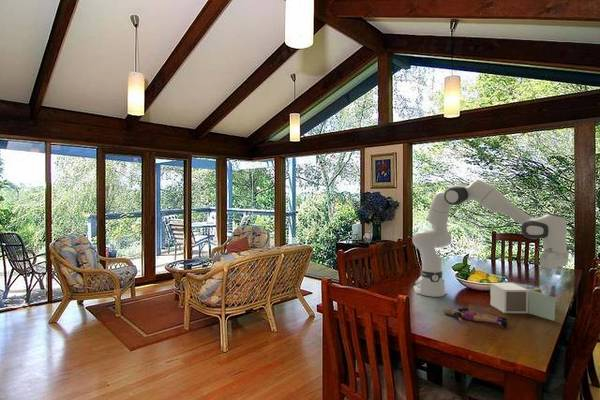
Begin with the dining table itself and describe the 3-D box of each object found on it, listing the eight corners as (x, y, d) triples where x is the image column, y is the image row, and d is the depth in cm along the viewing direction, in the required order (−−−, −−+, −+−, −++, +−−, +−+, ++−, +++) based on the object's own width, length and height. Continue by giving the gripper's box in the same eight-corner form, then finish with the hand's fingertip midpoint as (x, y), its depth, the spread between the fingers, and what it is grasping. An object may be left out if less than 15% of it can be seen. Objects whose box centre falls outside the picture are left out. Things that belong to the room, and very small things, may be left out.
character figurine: (509, 322, 168) (448, 308, 186) (509, 313, 168) (448, 300, 185) (502, 336, 152) (436, 319, 169) (503, 326, 152) (437, 310, 169)
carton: (490, 304, 192) (490, 283, 191) (512, 304, 191) (512, 283, 191) (504, 313, 178) (504, 289, 178) (528, 313, 178) (528, 290, 178)
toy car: (499, 294, 212) (499, 278, 211) (543, 306, 190) (544, 287, 190) (488, 297, 206) (488, 280, 206) (533, 309, 185) (533, 290, 184)
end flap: (553, 321, 166) (554, 286, 166) (526, 313, 177) (527, 280, 177) (556, 320, 167) (557, 286, 167) (529, 312, 178) (530, 280, 178)
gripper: (551, 250, 159) (550, 280, 160) (571, 246, 170) (570, 274, 170) (536, 248, 165) (535, 277, 165) (556, 244, 175) (555, 272, 176)
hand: (553, 275), depth 168 cm, fingers open, 8 cm apart
